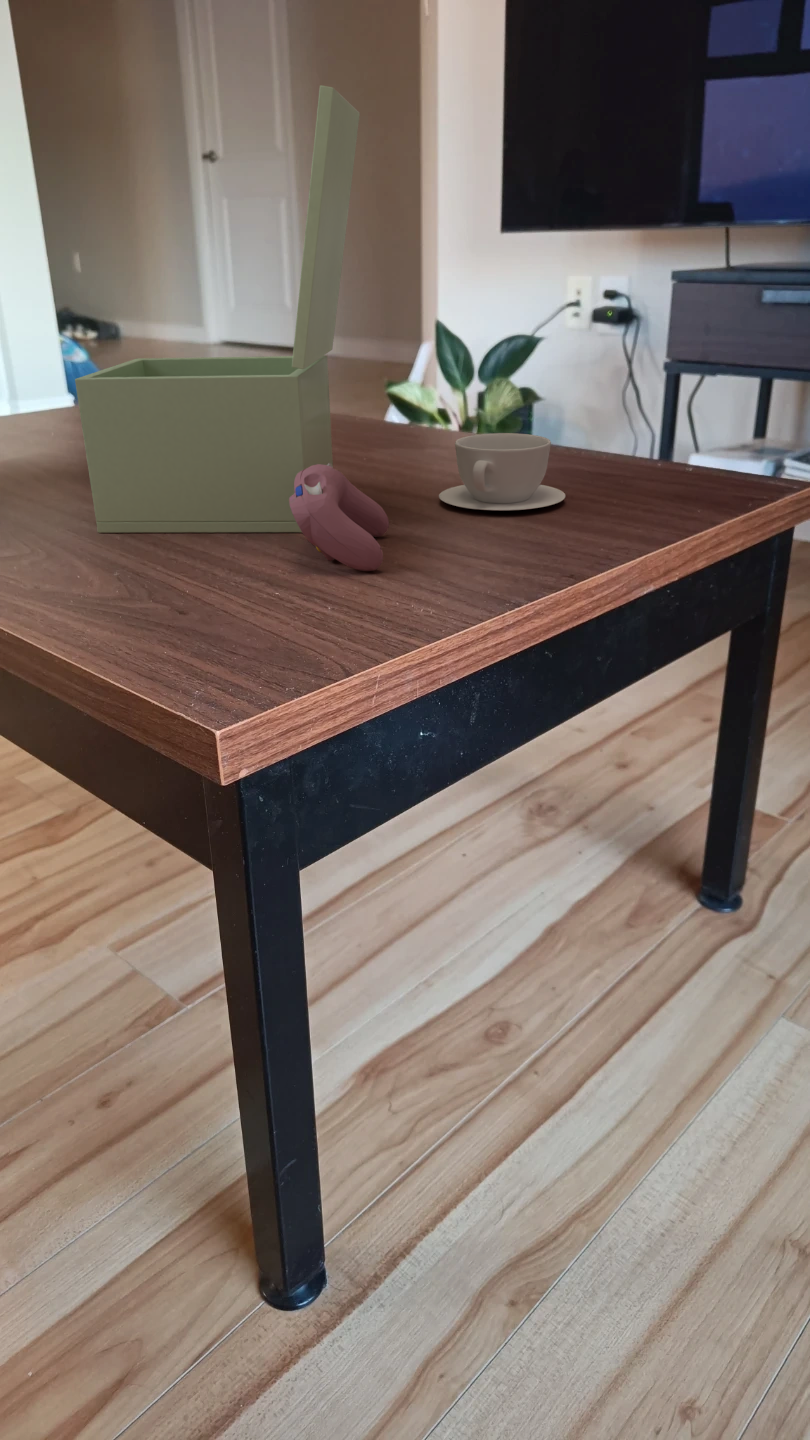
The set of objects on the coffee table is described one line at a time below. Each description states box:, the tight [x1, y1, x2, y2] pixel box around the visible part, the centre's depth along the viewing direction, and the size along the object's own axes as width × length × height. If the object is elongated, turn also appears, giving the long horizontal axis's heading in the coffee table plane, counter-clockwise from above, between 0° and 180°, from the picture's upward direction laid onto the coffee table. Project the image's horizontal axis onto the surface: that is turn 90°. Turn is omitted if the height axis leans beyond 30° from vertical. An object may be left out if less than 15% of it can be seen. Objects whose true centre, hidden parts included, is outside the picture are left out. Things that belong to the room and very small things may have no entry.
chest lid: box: [292, 85, 361, 369], centre depth 72 cm, size 16×14×1 cm
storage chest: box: [74, 355, 334, 534], centre depth 79 cm, size 16×14×11 cm
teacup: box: [438, 432, 566, 511], centre depth 81 cm, size 10×10×5 cm
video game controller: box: [289, 463, 390, 572], centre depth 68 cm, size 10×5×7 cm, turn 178°
